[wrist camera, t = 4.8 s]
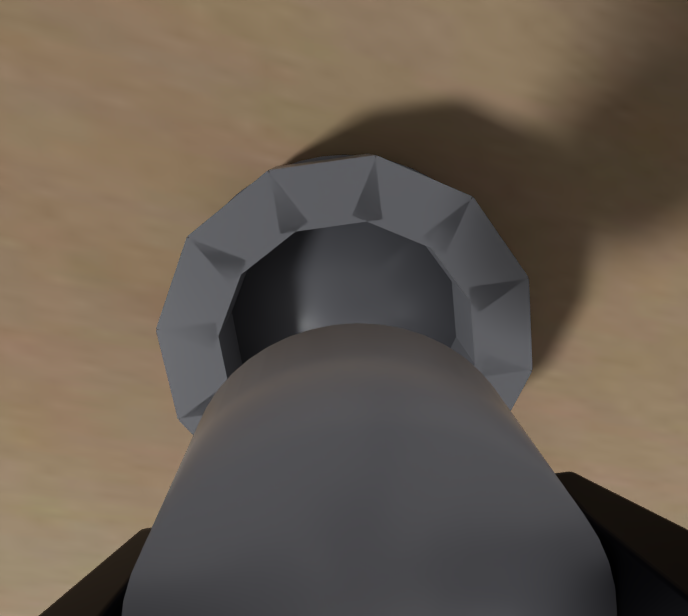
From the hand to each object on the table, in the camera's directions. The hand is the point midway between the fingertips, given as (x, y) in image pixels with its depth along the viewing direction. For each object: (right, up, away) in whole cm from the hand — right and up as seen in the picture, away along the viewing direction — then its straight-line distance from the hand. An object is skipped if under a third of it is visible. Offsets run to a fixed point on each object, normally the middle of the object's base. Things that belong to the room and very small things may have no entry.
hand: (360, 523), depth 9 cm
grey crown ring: (0, +3, +11) cm, 11 cm away
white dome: (0, 0, +1) cm, 1 cm away
